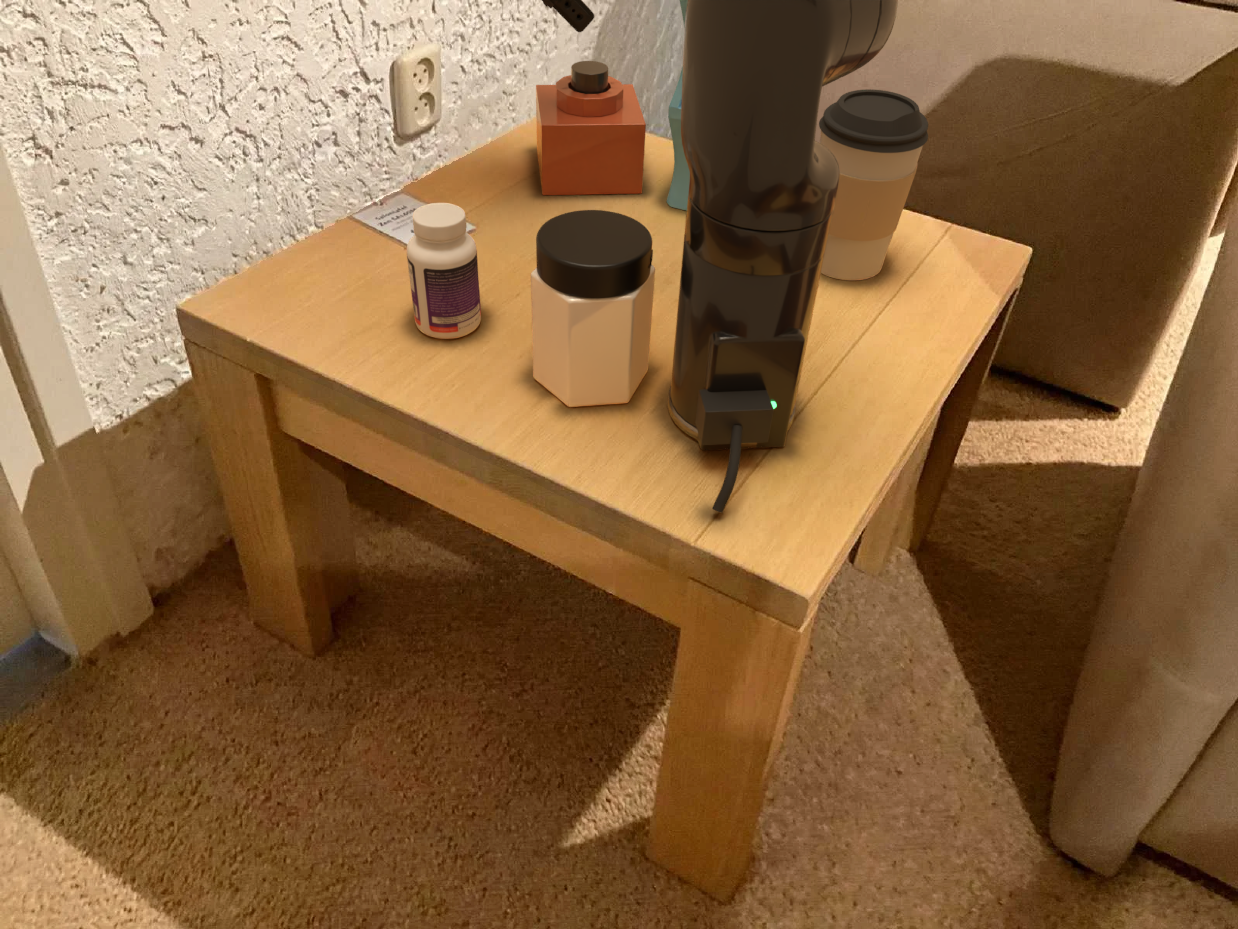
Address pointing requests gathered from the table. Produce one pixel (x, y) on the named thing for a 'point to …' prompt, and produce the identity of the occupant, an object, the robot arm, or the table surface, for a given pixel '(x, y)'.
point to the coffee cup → (869, 176)
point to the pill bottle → (443, 272)
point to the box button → (589, 77)
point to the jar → (592, 306)
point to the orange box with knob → (589, 139)
